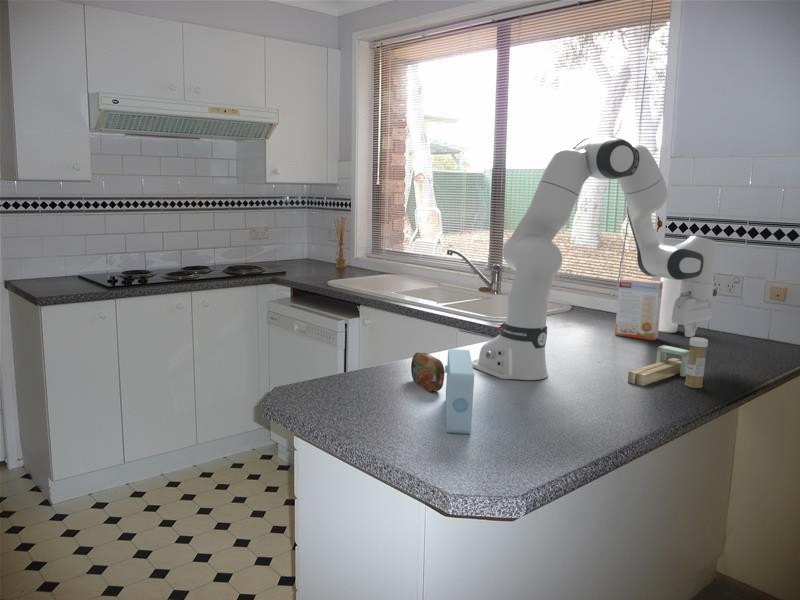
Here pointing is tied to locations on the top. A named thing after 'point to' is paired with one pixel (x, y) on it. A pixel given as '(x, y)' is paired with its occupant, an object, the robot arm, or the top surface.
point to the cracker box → (638, 308)
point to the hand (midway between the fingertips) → (689, 336)
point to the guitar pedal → (459, 391)
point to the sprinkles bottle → (696, 362)
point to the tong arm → (658, 373)
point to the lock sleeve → (664, 349)
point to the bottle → (668, 304)
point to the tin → (427, 371)
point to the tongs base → (633, 374)
